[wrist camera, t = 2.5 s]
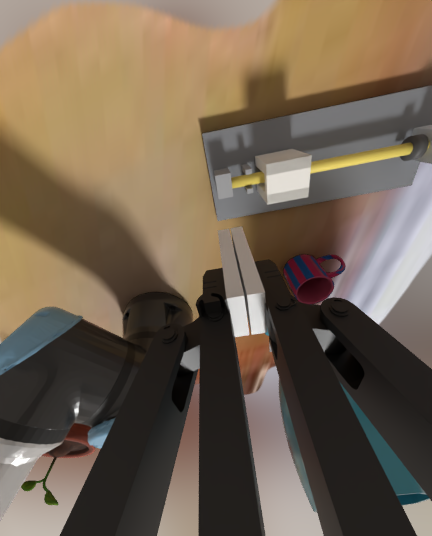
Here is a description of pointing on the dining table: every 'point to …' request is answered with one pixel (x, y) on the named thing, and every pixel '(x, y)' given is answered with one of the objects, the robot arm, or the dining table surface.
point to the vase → (391, 464)
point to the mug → (310, 278)
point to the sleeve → (284, 175)
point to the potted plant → (65, 455)
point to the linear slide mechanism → (325, 151)
